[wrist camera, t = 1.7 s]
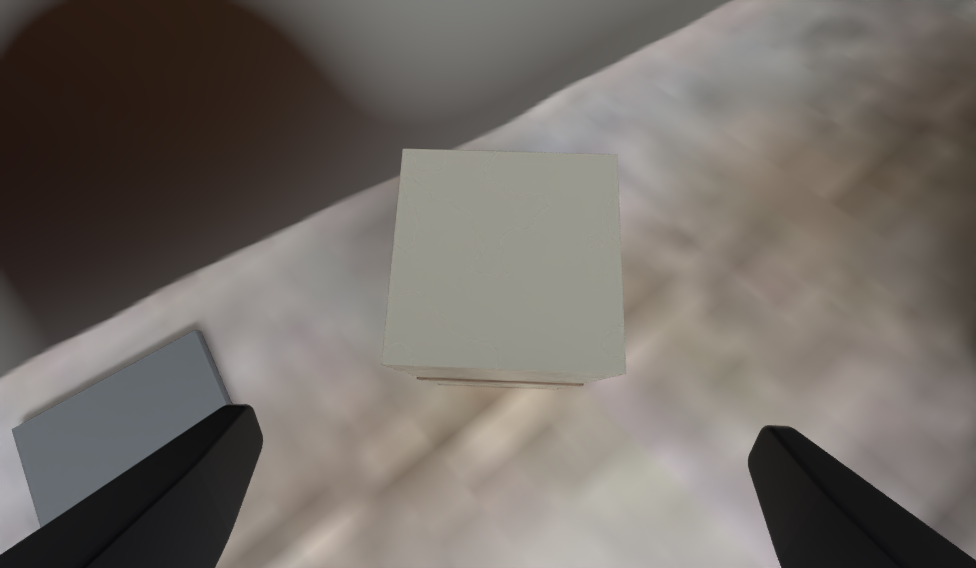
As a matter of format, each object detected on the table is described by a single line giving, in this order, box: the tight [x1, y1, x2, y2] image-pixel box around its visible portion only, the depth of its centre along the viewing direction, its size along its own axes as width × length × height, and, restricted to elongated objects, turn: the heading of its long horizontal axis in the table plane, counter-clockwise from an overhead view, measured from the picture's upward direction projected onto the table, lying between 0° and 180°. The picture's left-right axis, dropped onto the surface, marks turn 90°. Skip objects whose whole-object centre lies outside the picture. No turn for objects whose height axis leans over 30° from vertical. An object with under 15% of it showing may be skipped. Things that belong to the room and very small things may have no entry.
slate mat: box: [12, 330, 232, 527], centre depth 18 cm, size 6×8×1 cm
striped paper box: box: [381, 149, 626, 389], centre depth 15 cm, size 5×5×10 cm
